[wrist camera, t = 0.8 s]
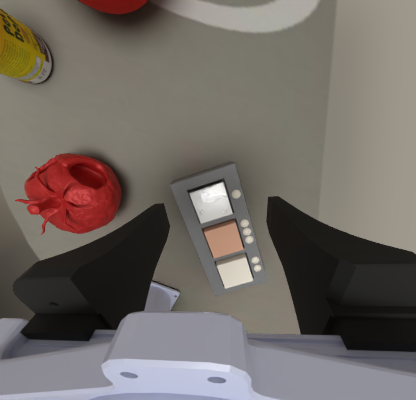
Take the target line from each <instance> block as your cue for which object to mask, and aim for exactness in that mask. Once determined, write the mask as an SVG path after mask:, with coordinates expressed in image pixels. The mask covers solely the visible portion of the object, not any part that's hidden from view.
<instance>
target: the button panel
mask: <svg viewBox="0 0 416 400" xmlns="http://www.w3.org/2000/svg"><path fill="white" fill-rule="evenodd" d="M219 180H222V181H223V184H224V187H225V190H226V193H227V197H228V200H229V203H230V206H231V210H232V213H233V214H230V215H227V216H224V217H221V218H218V219H215V220H211V221H208V222H205V223H202V224H201V223H200V220H199V218H198V215H197V212H196V210H195V207H194V204H193V202H192V199H191V197H190V194H189V193H190V190H192V189H195V188H198V187H201V186H204V185H207V184H210V183H213V182H216V181H219ZM170 187H171V190H172V192H173V195H174V197H175V199H176V202H177V204H178V207H179V209H180V212H181V214H182V217H183V219H184V222H185V224H186V226H187V229H188V231H189V234H190V236H191V239H192V241H193V244H194V246H195V248H196V251H197V253H198V256H199V258H200V261H201V263H202V266H203V268H204V271H205V273H206V275H207V278H208V280H209V283H210V285H211V288H212V290H213V293H214V295H215V296H217V295H221V294H224V293H228V292H231V291H235V290H239V289H242V288H246V287H249V286H253V285H256V284H260V283H263V282H267V278H266V275H265V271H264V267H263V264H262V260H261V257H260V253H259V249H258V246H257V242H256V238H255V235H254V231H253V227H252V224H251V220H250V216H249V213H248V209H247V206H246V202H245V198H244V195H243V191H242V187H241V184H240V180H239V176H238V173H237V169H236V166H235V163H233V162H229V163H226V164H223V165H220V166H217V167H214V168H211V169H208V170H205V171H202V172H199V173H196V174H193V175H190V176H187V177H184V178H181V179H178V180H175V181H173V182H172V183H171V184H170ZM233 218H234V220H235V223H236V226H237V229H238V233H239V236H240V239H241V242H242V246H243V249H244V250H241V251H238V252H234V253H231V254H228V255H224V256H221V257H218V258H214V257H213V255H212V252H211V250H210V247H209V244H208V242H207V239H206V236H205V234H204V228H205V227H208V226H211V225H214V224H217V223H221V222H224V221H227V220H230V219H233ZM241 253H245V256H246V259H247V262H248V265H249V268H250V272H251V275H252V278H253V281H251V282H247V283H244V284H240V285H237V286H233V287H230V288H226V289H225V287H224V284H223V281H222V279H221V276H220V273H219V271H218V268H217V264H216V261H217V260H221V259H224V258H228V257H231V256H234V255H238V254H241Z"/></svg>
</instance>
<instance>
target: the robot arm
mask: <svg viewBox="0 0 416 400" xmlns="http://www.w3.org/2000/svg"><path fill="white" fill-rule="evenodd" d="M266 222H267V226H268V230H269V234H270V236H271V239H272V241H273V244H274V246H275V249H276V251H277V253H278V256H279V258H280V261H281V263H282V266H283V268H284V272H285V275H286V278H287V282H288V285H289V289H290V293H291V296H292V300H293V304H294V308H295V312H296V315H297V319H298V324H299V328H300V332H301V335H296V334H255V333H246V329H245V328H244V326H243V324H242V322H240V321H239V320H238V319H236V318H234V317H232V316H230V315H228V314H224V313H218V312H196V311H170V310H171V308H172V307H173V305H174V303H175V301H176V300H177V298H178V296H179V294H180V292H179V291H177V290H175V289H172V288H169V287H166V286H164V285H161V284H158V283H155V282H152V278H153V274H154V271H155V268H156V265H157V263H158V260H159V258H160V255H161V253H162V250H163V248H164V245H165V243H166V240H167V237H168V233H169V229H170V224H169V221H168V217H167V213H166V210H165V206H164V203H162V204H154V205H153V206H151V207H150V208H148V209H147V210H145V211H144V212H142V213H141V214H140V215H138V216H137V217H135V218H134V219H132V220H131V221H129V222H128V223H126V224H125V225H123V226H122V227H120V228H118V229H117V230H115V231H113V232H111V233H109V234H107V235H106V236H104V237H102V238H99V239H97V240H95V241H93V242H91V243H89V244H86V245H84V246H81V247H79V248H77V249H74V250H71V251H69V252H66V253H63V254H60V255H57V256H54V257H51V258H48V259H45V260H41V261H38V262H36V263H35V264H34V265H33V266H32V267H31V268H29V269H28V270H27V271H26V272H25V273H24V274H22V275H21V276H20V277H19V278H18V279H17V280H16V281H15V282H14V283H13V291H14V293H15V295H16V296H17V297H18V298H19V299H20V300H21V301H22V302H23V303H24V304H25V305H26V306H28V307H29V308H30V309H31V310H32V311H33V312H34V313H36V314H35V315H34V317H33V318H32V319H31V320H30V321H29V320H26V319H21V318H19V319H18V318H2V319H0V400H416V254H414V253H413V252H410V251H407V250H403V249H399V248H394V247H391V246H386V245H383V244H379V243H376V242H372V241H369V240H366V239H363V238H359V237H356V236H354V235H350V234H348V233H346V232H343V231H340V230H338V229H335V228H333V227H331V226H328V225H326V224H324V223H322V222H320V221H318V220H316V219H314V218H312V217H310V216H309V215H307V214H305V213H303V212H302V211H300V210H298V209H297V208H295V207H294V206H292V205H291V204H289V203H288V202H286V201H285V200H283V199H282V198H280V197H278V196H274V197H268V207H267V221H266ZM175 295H176V296H175Z"/></svg>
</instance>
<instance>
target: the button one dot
mask: <svg viewBox="0 0 416 400" xmlns="http://www.w3.org/2000/svg"><path fill="white" fill-rule="evenodd" d="M189 194H190V197H191V199H192V202H193V204H194V207H195V210H196V212H197V215H198V218H199V220H200V223H201V224H202V223H205V222H208V221H211V220H215V219H218V218H221V217H224V216H227V215H230V214H233V213H232V210H231V206H230V203H229V200H228V197H227V193H226V190H225V187H224V184H223V181H222V180H219V181H216V182H213V183H210V184H207V185H204V186H201V187H198V188H195V189H192V190H190V193H189Z"/></svg>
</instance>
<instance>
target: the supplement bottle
mask: <svg viewBox="0 0 416 400" xmlns="http://www.w3.org/2000/svg"><path fill="white" fill-rule="evenodd" d="M51 67H52V62H51V56H50V53H49V50H48V48H47V46H46V45H45V43H44V42H43V40H42V39H41V38H40V37H39V36H38V35H37V34H36V33H35V32H33V31H32V30H31V29H29V28H28V27H26V26H25V25H23V24H22V23H20V22H19V21H17V20H16V19H15V18H13V17H12V16H10V15H9V14H7V13H6V12H4V11H3V10H1V9H0V73H1V74H3V75H6V76H9V77H12V78H15V79H17V80H20V81H23V82H26V83H32V84H34V83H40V82H42V81H44V80H45V79H46V78H47V77H48V76H49V74H50V71H51Z"/></svg>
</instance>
